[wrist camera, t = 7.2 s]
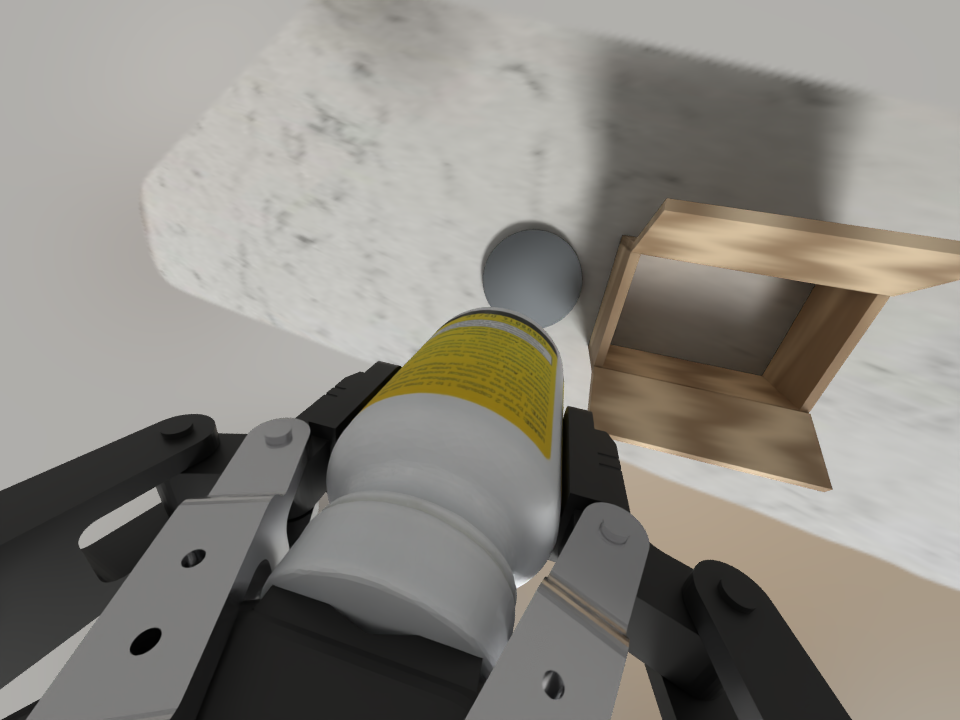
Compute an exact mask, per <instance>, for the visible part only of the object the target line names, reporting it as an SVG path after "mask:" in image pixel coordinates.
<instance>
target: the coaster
mask: <svg viewBox="0 0 960 720" xmlns="http://www.w3.org/2000/svg"><path fill="white" fill-rule="evenodd" d="M483 287H484V293H485V296H486V299H487V301H488V303H489V305H490V306H491V307H497V308H504V309H509V310H512V311H516V312H518V313H520V314H523V315H525V316H527V317H528V318H530V319H532V320H533V321H534V322H536V323H537V324H538V325H540V326H541V327H542V328H545V327H548V326H551V325H553V324H555V323H557V322H558V321H560V320H561V319H563V318H564V317H565V316H566V315H567V314H568V313H569V312H570V311H571V310H572V308H573V307H574V305H575V304H576V302H577V300H578V298H579V295H580V292H581V287H582V271H581V266H580V262H579V260H578V257H577V255H576V253H575V252H574V250H573V249H572V248H571V246H570V245H569V244H568V243H567V242H566V241H564V240H563V239H562V238H561V237H559V236H557V235H555V234H553V233H550V232H547V231H543V230H525V231H521V232H518V233H515V234H513V235H511V236H509V237H507V238H506V239H504V240H503V241H502V242H501V243H499V244H498V245H497V246H496V248H495V249H494V250H493V251H492V253H491V254H490V256H489V258H488V260H487V262H486V265H485V268H484V273H483Z"/></svg>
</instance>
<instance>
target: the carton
mask: <svg viewBox="0 0 960 720" xmlns="http://www.w3.org/2000/svg"><path fill="white" fill-rule="evenodd" d="M641 254H644V255H649V256H655V257H661V258H667V259H673V260H679V261H685V262H691V263H696V264H702V265H708V266H714V267H720V268H726V269H732V270H737V271H743V272H749V273H755V274H761V275H767V276H773V277H779V278H784V279H790V280H796V281H802V282H808V283H814V284H816V285H815V287H814V288H813V290H812V292H811V293H810V295H809V297H808V299H807V300H806V302H805V304H804V305H803V307H802V309H801V311H800V312H799V314H798V316H797V317H796V319H795V321H794V322H793V324H792V326H791V328H790V329H789V331H788V333H787V334H786V336H785V338H784V339H783V341H782V343H781V345H780V346H779V348H778V350H777V351H776V353H775V355H774V357H773V358H772V360H771V362H770V363H769V365H768V367H767V368H766V370H765V372H764V374H763V375H762V376H759V375H754V374H750V373H745V372H740V371H735V370H731V369H726V368H721V367H716V366H711V365H707V364H702V363H697V362H692V361H688V360H683V359H678V358H673V357H668V356H664V355H659V354H654V353H649V352H645V351H640V350H635V349H630V348H626V347H621V346H616V345H611V344H610V343H611V340H612V337H613V334H614V332H615V329H616V326H617V323H618V320H619V317H620V314H621V311H622V308H623V305H624V302H625V299H626V296H627V293H628V290H629V287H630V284H631V281H632V278H633V275H634V273H635V270H636V267H637V264H638V261H639V258H640V255H641ZM957 280H960V241H956V240H949V239H942V238H936V237H929V236H922V235H915V234H908V233H901V232H895V231H888V230H881V229H874V228H867V227H860V226H854V225H847V224H840V223H833V222H826V221H819V220H812V219H806V218H799V217H792V216H785V215H778V214H771V213H765V212H758V211H751V210H744V209H737V208H730V207H724V206H717V205H710V204H703V203H696V202H689V201H683V200H676V199H669V198H667V199H666V200H665V201H664V203H663V204H662V205H661V207H660V208H659V209H658V211H657V212H656V213H655V215H654V216H653V217H652V219H651V220H650V221H649V223H648V224H647V225H646V227H645V228H644V229H643V231H642V232H641V233H640V235H639V236H638V237H632V236H626V235H622V238H621V241H620V245H619V248H618V251H617V254H616V258H615V261H614V264H613V267H612V271H611V274H610V277H609V280H608V284H607V287H606V290H605V293H604V297H603V300H602V303H601V306H600V310H599V313H598V316H597V319H596V323H595V326H594V329H593V332H592V336H591V339H590V342H589V345H588V349H589V356H590V363H591V370H592V374H591V384H590V393H589V403H588V411H592V413H593V420H594V428H595V429H597V430H601V431H605V432H607V433H608V434H609V436H610V437H611V438H612V439H613V440H617V441H621V442H625V443H629V444H633V445H637V446H641V447H645V448H649V449H653V450H657V451H661V452H665V453H669V454H673V455H677V456H681V457H685V458H689V459H693V460H697V461H701V462H705V463H709V464H713V465H717V466H721V467H725V468H729V469H733V470H737V471H741V472H745V473H749V474H753V475H758V476H762V477H766V478H770V479H774V480H778V481H782V482H786V483H790V484H794V485H798V486H802V487H806V488H810V489H814V490H818V491H822V492H826V491H829V490H833V489H832V486H831V482H830V479H829V476H828V472H827V469H826V465H825V462H824V459H823V455H822V452H821V448H820V445H819V441H818V438H817V435H816V431H815V428H814V424H813V421H812V418H811V414H808V413H809V412H810V411H811V409H812V408H813V406H814V405H815V403H816V402H817V401H818V399H819V398H820V396H821V395H822V393H823V392H824V391H825V389H826V388H827V386H828V385H829V383H830V382H831V381H832V379H833V378H834V376H835V375H836V373H837V372H838V370H839V369H840V368H841V366H842V365H843V363H844V362H845V360H846V359H847V358H848V356H849V355H850V353H851V352H852V350H853V349H854V348H855V346H856V345H857V343H858V342H859V340H860V339H861V338H862V336H863V335H864V333H865V332H866V330H867V329H868V327H869V326H870V325H871V323H872V322H873V320H874V319H875V317H876V316H877V315H878V313H879V312H880V310H881V309H882V307H883V306H884V305H885V303H886V302H887V300H888V299H889V297H890V296H897V295H901V294H905V293H909V292H913V291H917V290H921V289H925V288H929V287H933V286H937V285H941V284H945V283H949V282H953V281H957Z"/></svg>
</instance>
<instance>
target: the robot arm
mask: <svg viewBox="0 0 960 720" xmlns="http://www.w3.org/2000/svg"><path fill="white" fill-rule="evenodd" d="M401 368H402V367H401V366H398V365H394V364H390V363H385V362H381V361H378V362H376V363H375V364H374V365H373V366H372V367H371V368H369V369H368V370H367V371H366V372H365V373H364V372H358V373H356V374H353V375H350V376H348V377H345V378H344V379H343V380H342V381H341V382H339V383H338V384H337V385H336V386H335V388H332V389H331V390H329V391H328V392H327V394H326V395H323V396H322V397H321V398H320V399H318V400H317V401H316V402H315V403H313V404H312V405H311V406H310V407H308V408H307V409H306V410H305V411H303V412H302V413H301V414H300V415H299V416H297V417H296V418H279V419H274V420H270V421H267V422H265V423H262V424H260V425H258V426H257V427H255V428H254V429H252V430H251V431H250V432H249V433H248V434H222V433H218V432H217V429H216V425H215V421H214V420H213V419H212V418H211V417H209V416H206V415H201V414H188V415H180V416H176V417H172V418H169V419H166V420H163V421H161V422H158V423H156V424H154V425H151V426H149V427H147V428H144V429H142V430H140V431H137V432H135V433H133V434H131V435H128V436H126V437H124V438H121V439H119V440H117V441H114V442H112V443H110V444H108V445H105V446H103V447H101V448H98V449H96V450H94V451H91V452H89V453H87V454H84V455H82V456H80V457H78V458H76V459H73V460H71V461H68V462H66V463H64V464H61V465H59V466H57V467H55V468H52V469H50V470H48V471H46V472H43V473H41V474H39V475H36V476H34V477H32V478H29V479H27V480H25V481H22V482H20V483H18V484H16V485H13V486H11V487H9V488H7V489H4V490H2V491H0V689H1V688H3V687H4V686H5V685H7V684H8V683H9V682H11V681H12V680H13V679H15V678H16V677H17V676H19V675H20V674H22V673H23V672H24V671H25V670H27V669H28V668H30V667H31V666H32V665H34V664H35V663H36V662H38V661H39V660H40V659H42V658H43V657H44V656H46V655H47V654H48V653H50V652H51V651H52V650H54V649H55V648H56V647H58V646H59V645H60V644H62V643H63V642H65V641H66V640H67V639H68V638H70V637H71V636H73V635H74V634H75V633H77V632H78V631H79V630H81V629H82V628H83V627H85V626H86V625H87V624H89V623H90V622H91V621H93V620H94V619H96V618H97V617H98V616H99V618H98V619H97V621H96V622H95V623H94V625H93V626H92V628H91V629H90V630H89V632H88V633H87V635H86V636H85V637H84V639H83V640H82V642H81V643H80V645H79V646H78V648H77V649H76V650H75V651H74V653H73V654H72V656H71V657H70V659H69V660H68V661H67V663H66V664H65V665H64V667H63V668H62V670H61V671H60V673H59V674H58V675H57V677H56V678H55V680H54V681H53V683H52V684H51V685H50V687H49V688H48V690H47V691H46V693H45V694H44V695H43V696H42V698H41V699H39V700H37V701H35V702H33V703H32V704H30V705H28V706H26V707H24V708H22V709H21V710H19V711H17V712H15V713H13V714H11V715H9V716H7V717H6V718H4V719H2V720H610V719H611V716H612V712H613V708H614V704H615V700H616V696H617V692H618V688H619V685H620V681H621V677H622V673H623V669H624V666H625V661H626V658H627V654H628V652H629V653H631V654H632V655H633V656H635V657H636V658H638V659H639V660H641V661H642V662H643V663H645V667H646V670H647V673H648V676H649V679H650V682H651V685H652V689H653V692H654V695H655V698H656V701H657V704H658V707H659V710H660V714H661V717H662V720H852V719H851V718H850V716H849V715H848V713H847V712H846V711H845V709H844V707H843V706H842V704H841V703H840V701H839V700H838V699H837V697H836V696H835V694H834V693H833V691H832V690H831V688H830V687H829V685H828V684H827V682H826V681H825V679H824V678H823V676H822V675H821V673H820V672H819V671H818V669H817V668H816V666H815V665H814V663H813V662H812V660H811V659H810V657H809V656H808V654H807V653H806V651H805V650H804V648H803V647H802V645H801V644H800V642H799V641H798V640H797V638H796V637H795V635H794V634H793V632H792V631H791V629H790V628H789V626H788V625H787V623H786V622H785V620H784V619H783V618H782V616H781V614H780V613H779V612H778V610H777V609H776V607H775V606H774V604H773V603H772V601H771V600H770V598H769V597H768V596H767V594H766V593H765V592H764V591H763V590H762V589H761V588H760V587H759V586H758V585H757V584H756V583H755V582H754V581H753V580H752V579H750V578H749V577H748V576H747V575H745V574H744V573H742V572H741V571H740V570H738V569H736V568H734V567H733V566H730V565H728V564H726V563H723V562H720V561H715V560H704V561H701V562H699V563H698V564H697V565H696V566H695V568H694V569H692V568H690V567H689V566H687V565H685V564H683V563H681V562H679V561H678V560H676V559H674V558H672V557H671V556H669V555H667V554H665V553H664V552H662V551H660V550H659V549H657V548H656V547H655V546H653V545H652V544H651V543H650V542H649V539H648V535H647V533H646V531H645V530H644V528H643V526H642V525H641V523H640V522H639V521H638V520H637V519H636V518H635V517H634V516H633V515H631V514H630V509H629V505H628V499H627V495H626V490H625V485H624V480H623V475H622V471H621V465H620V461H619V456H618V451H617V446H616V444H615V442H614V441H613V440H612V438H611V437H610V436H609V434H608V433H607V432H605V431H601V430H597V429H595V428H594V420H593V413H592V411H587V410H583V409H579V408H575V407H570V406H567V408H566V411H565V414H564V417H563V431H562V437H563V441H562V443H563V446H562V502H561V513H560V524H559V531H558V536H557V540H556V544H555V546H554V549H553V551H552V553H551V555H550V557H549V559H548V560H550V561H553V562H556V563H555V565H554V566H553V568H552V570H551V572H550V574H549V575H548V577H545V578H544V579H543V581H542V582H541V584H540V585H539V587H538V589H537V591H536V592H535V594H534V596H533V598H532V600H531V601H530V603H529V605H528V607H527V609H526V611H525V612H524V614H523V616H522V618H521V620H520V621H519V623H518V625H517V627H516V628H515V630H514V632H513V634H512V636H511V637H510V639H509V641H508V643H507V645H506V647H505V648H504V650H503V652H502V654H501V656H500V657H499V659H498V661H497V663H496V665H495V666H494V668H493V670H492V672H491V674H490V675H489V677H488V679H486V678H485V677H483V676H482V675H481V674H480V671H481V665H482V660H483V658H480V657H477V656H474V655H472V654H469V653H467V652H464V651H461V650H459V649H456V648H453V647H451V646H448V645H445V644H442V643H439V642H436V641H434V640H431V639H428V638H425V637H422V636H419V635H391V634H369V633H366V632H364V631H362V630H361V629H360V628H358V627H357V626H356V625H355V624H353V623H352V622H351V621H350V620H348V619H347V618H346V617H345V616H344V615H342V614H341V613H340V612H339V611H337V610H336V609H335V608H334V607H332V606H331V605H330V604H328V603H325V602H322V601H319V600H316V599H313V598H310V597H307V596H304V595H301V594H298V593H295V592H292V591H289V590H286V589H283V588H280V587H277V586H275V585H272V586H271V587H270V588H269V590H268V591H267V592H266V594H265V595H264V596H263V598H262V599H260V597H261V593H262V589H263V586H264V584H265V583H266V581H267V579H268V577H269V576H270V574H271V573H272V572H273V571H274V569H275V568H276V567H277V565H278V564H279V563H280V562H281V560H282V559H283V558H284V556H285V555H286V554H287V552H288V551H289V550H290V549H291V547H292V546H293V545H294V543H295V542H296V541H297V540H298V538H299V537H300V536H301V534H302V532H303V531H304V529H305V528H306V526H307V525H308V524H309V522H310V521H311V520H312V519H313V518H314V517H315V516H316V515H317V514H318V509H319V505H318V501H319V499H320V498H321V497H322V496H323V495H324V493H325V492H327V485H326V477H327V468H328V463H329V459H330V456H331V453H332V450H333V448H334V446H335V444H336V442H337V441H338V439H339V437H340V436H341V434H342V433H343V431H344V430H345V429H346V428H347V426H348V425H349V424H350V423H351V421H352V420H353V419H354V418H355V417H356V416H357V415H358V413H359V412H360V411H361V410H362V409H363V408H364V407H365V406H366V405H367V404H368V403H369V402H370V401H371V400H372V399H373V398H374V397H375V395H376V394H377V393H378V392H379V391H380V390H381V389H382V388H383V387H384V386H385V385H386V384H387V383H388V382H389V381H390V380H391V379H392V378H393V376H394V375H395V374H396V373H397V372H398V371H399V370H400V369H401ZM154 487H156V488H157V491H158V493H159V496H160V498H161V501H162V502H161V503H159V504H158V505H156V506H154V507H153V508H151V509H149V510H148V511H146V512H144V513H143V514H141V515H139V516H138V517H136V518H134V519H133V520H131V521H130V522H128V523H126V524H125V525H123V526H121V527H120V528H118V529H116V530H115V531H113V532H111V533H110V534H108V535H106V536H105V537H103V538H101V539H100V540H98V541H97V542H95V543H93V544H91V545H90V546H88V547H85V548H83V549H80V548H79V545H78V541H79V538H80V536H81V534H82V533H83V531H84V530H85V529H86V528H87V527H88V526H89V525H90V524H92V523H93V522H94V521H96V520H98V519H99V518H101V517H103V516H105V515H106V514H108V513H110V512H112V511H113V510H115V509H117V508H119V507H121V506H122V505H124V504H126V503H128V502H129V501H131V500H133V499H135V498H136V497H138V496H140V495H142V494H144V493H145V492H147V491H149V490H151V489H152V488H154Z"/></svg>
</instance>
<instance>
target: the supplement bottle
mask: <svg viewBox="0 0 960 720" xmlns="http://www.w3.org/2000/svg"><path fill="white" fill-rule="evenodd" d="M563 397H564V376H563V365H562V360H561V357H560V353H559V351H558V349H557V347H556V345H555V343H554V342H553V340H552V339H551V337H550V336H549V335H548V333H547V332H546V331H545V330H544V329H543V328H542V327H541V326H540V325H538V324H537V323H536V322H534V321H533V320H532V319H530V318H528V317H527V316H525V315H523V314H520V313H518V312H516V311H512V310H509V309H504V308H497V307H483V308H476V309H472V310H469V311H466V312H464V313H461V314H459V315H457V316H455V317H454V318H452V319H451V320H449V321H448V322H447V323H445V324H444V325H443V326H442V327H441V328H440V329H439V330H437V332H436V333H435V334H434V335H433V336H432V337H431V338H430V339H429V340H428V341H427V342H426V343H425V344H424V345H423V346H422V348H421V349H420V350H419V351H418V352H417V353H416V354H415V355H414V356H413V357H412V358H411V359H410V360H409V361H408V362H407V363H406V364H405V365H404V366H403V367H402V368H401V369H400V370H399V371H398V372H397V373H396V374H395V375H394V376H393V378H392V379H391V380H390V381H389V382H388V383H387V384H386V385H385V386H384V387H383V388H382V389H381V390H380V391H379V392H378V393H377V394H376V395H375V397H374V398H373V399H372V400H371V401H370V402H369V403H368V404H367V405H366V406H365V407H364V408H363V409H362V410H361V411H360V412H359V413H358V415H357V416H356V417H355V418H354V419H353V420H352V421H351V423H350V424H349V425H348V426H347V428H346V429H345V430H344V431H343V433H342V434H341V436H340V437H339V439H338V441H337V442H336V444H335V446H334V448H333V450H332V453H331V456H330V459H329V463H328V468H327V477H326V485H327V494H328V500H329V504H328V505H327V506H326V507H325V508H324V509H323V510H322V511H321V513H319V514H318V515H316V516H315V517H314V518H313V519H312V520H311V521H310V522H309V524H308V525H307V526H306V528H305V529H304V531H303V532H302V534H301V536H300V537H299V538H298V540H297V541H296V542H295V543H294V545H293V546H292V547H291V549H290V550H289V551H288V552H287V554H286V555H285V556H284V558H283V559H282V560H281V562H280V563H279V564H278V565H277V567H276V568H275V569H274V571H273V572H272V573H271V574H270V576H269V577H268V579H267V581H266V583H265V584H264V586H263V589H262V593H261V597H260V599H262V598H263V596H264V595H265V594H266V592H267V591H268V590H269V588H270V587H271V586H272V585H275V586H277V587H280V588H283V589H286V590H289V591H292V592H295V593H298V594H301V595H304V596H307V597H310V598H313V599H316V600H319V601H322V602H325V603H328V604H330V605H331V606H332V607H334V608H335V609H336V610H337V611H339V612H340V613H341V614H342V615H344V616H345V617H346V618H347V619H348V620H350V621H351V622H352V623H353V624H355V625H356V626H357V627H358V628H360V629H361V630H362V631H364V632H366V633H369V634H391V635H419V636H422V637H425V638H428V639H431V640H434V641H436V642H439V643H442V644H445V645H448V646H451V647H453V648H456V649H459V650H461V651H464V652H467V653H469V654H472V655H474V656H477V657H480V658H483V660H482V665H481V671H480V674H481V675H482V676H483V677H485V678H486V679H488V677H489V675H490V674H491V672H492V670H493V668H494V666H495V665H496V663H497V661H498V659H499V657H500V656H501V654H502V652H503V650H504V648H505V647H506V645H507V643H508V641H509V639H510V637H511V636H512V633H513V627H514V621H515V605H516V598H517V592H516V588H518V587H519V586H521V585H523V584H525V583H526V582H528V581H529V580H530V579H531V578H533V577H534V576H535V575H536V574H537V573H538V572H539V571H540V570H541V568H542V567H543V566H544V565H545V563H546V562H547V560H548V559H549V557H550V555H551V553H552V551H553V549H554V546H555V544H556V540H557V536H558V531H559V524H560V513H561V502H562V446H563V443H562V441H563V437H562V431H563V408H564V407H563Z"/></svg>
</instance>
